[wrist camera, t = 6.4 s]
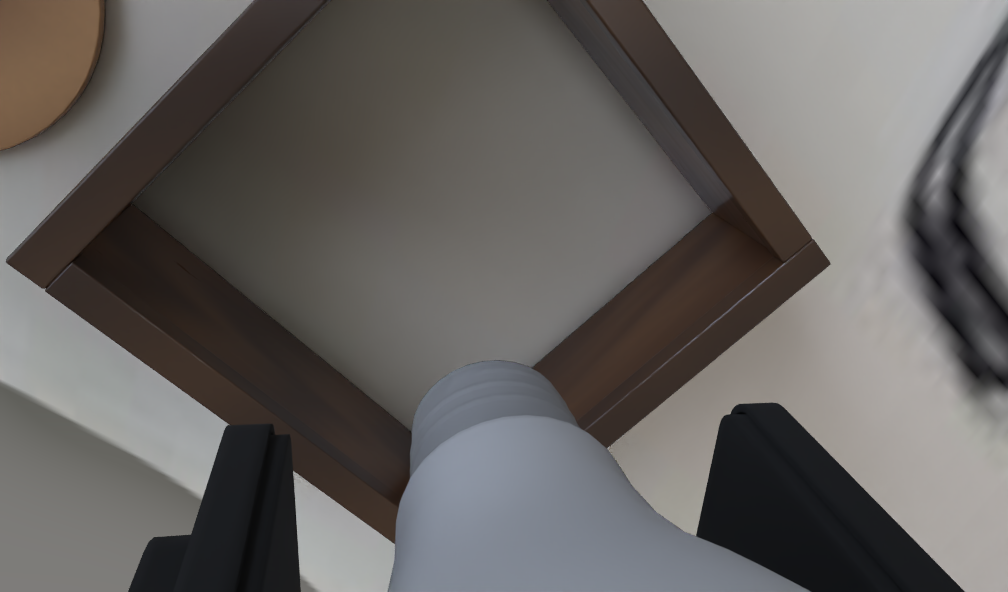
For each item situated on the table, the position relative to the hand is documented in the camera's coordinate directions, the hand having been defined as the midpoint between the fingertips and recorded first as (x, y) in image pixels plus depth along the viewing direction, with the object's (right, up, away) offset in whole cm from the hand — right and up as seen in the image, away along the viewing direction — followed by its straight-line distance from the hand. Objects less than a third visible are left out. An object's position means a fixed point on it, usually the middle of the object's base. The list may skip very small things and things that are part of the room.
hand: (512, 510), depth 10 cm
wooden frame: (-2, +6, +15) cm, 16 cm away
